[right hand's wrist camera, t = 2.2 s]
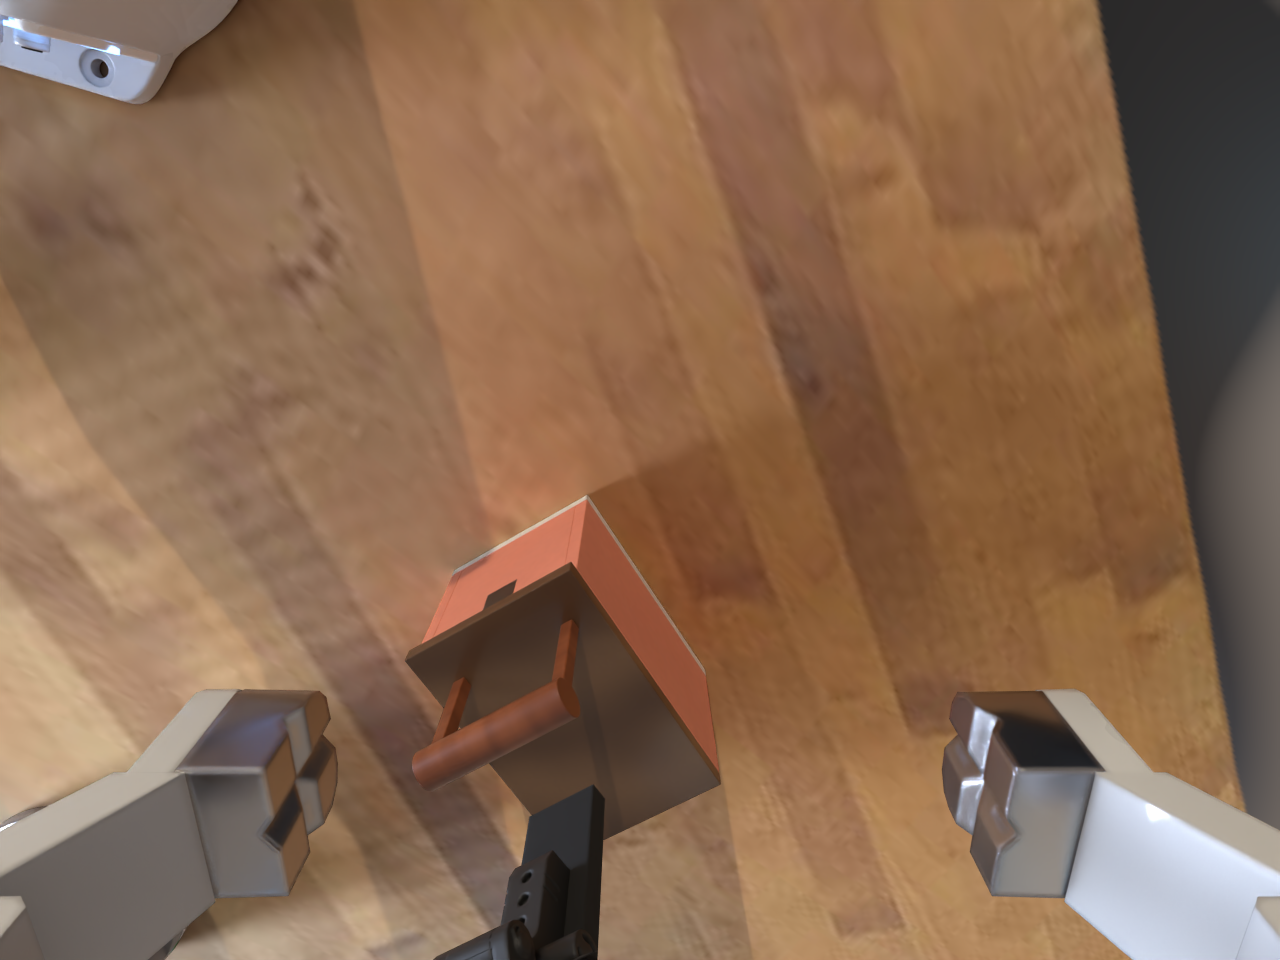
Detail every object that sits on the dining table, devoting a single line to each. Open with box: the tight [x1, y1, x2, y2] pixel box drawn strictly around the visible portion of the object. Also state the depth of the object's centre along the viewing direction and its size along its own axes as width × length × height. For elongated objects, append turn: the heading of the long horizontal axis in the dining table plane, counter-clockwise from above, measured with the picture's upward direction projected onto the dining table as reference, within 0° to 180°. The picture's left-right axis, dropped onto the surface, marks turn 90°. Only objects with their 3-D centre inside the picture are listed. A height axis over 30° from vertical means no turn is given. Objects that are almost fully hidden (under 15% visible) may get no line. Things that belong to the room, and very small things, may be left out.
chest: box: [422, 495, 719, 772], centre depth 48 cm, size 15×10×10 cm
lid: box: [405, 562, 721, 840], centre depth 39 cm, size 15×10×8 cm, turn 31°
